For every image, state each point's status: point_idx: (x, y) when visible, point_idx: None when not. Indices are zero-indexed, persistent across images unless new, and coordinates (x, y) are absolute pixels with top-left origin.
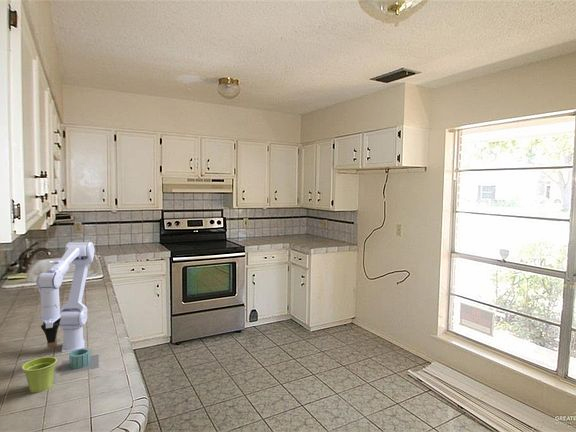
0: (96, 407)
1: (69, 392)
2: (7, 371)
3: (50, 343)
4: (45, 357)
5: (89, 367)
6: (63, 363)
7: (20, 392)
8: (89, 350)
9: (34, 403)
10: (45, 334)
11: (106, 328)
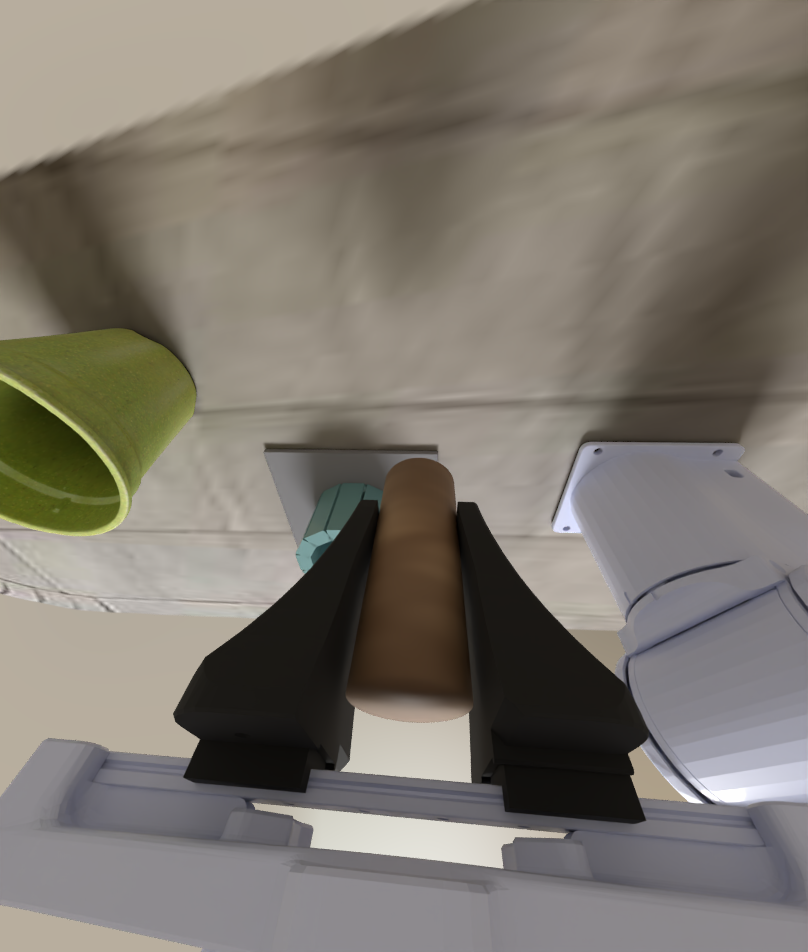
0: (39, 540)
1: None
2: (487, 35)
3: (381, 503)
4: (116, 480)
5: None
6: (403, 458)
7: (98, 273)
8: None
9: None
10: (308, 572)
11: None
